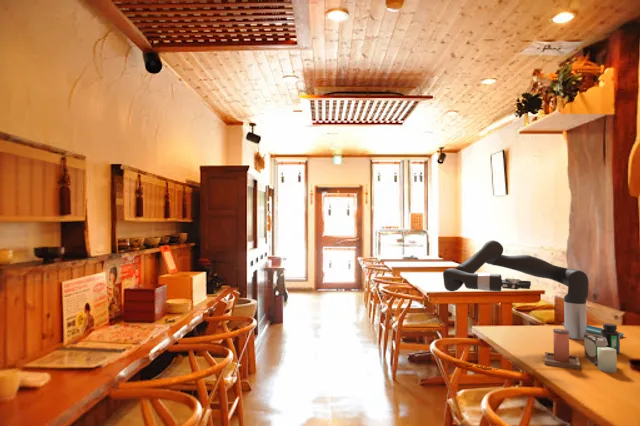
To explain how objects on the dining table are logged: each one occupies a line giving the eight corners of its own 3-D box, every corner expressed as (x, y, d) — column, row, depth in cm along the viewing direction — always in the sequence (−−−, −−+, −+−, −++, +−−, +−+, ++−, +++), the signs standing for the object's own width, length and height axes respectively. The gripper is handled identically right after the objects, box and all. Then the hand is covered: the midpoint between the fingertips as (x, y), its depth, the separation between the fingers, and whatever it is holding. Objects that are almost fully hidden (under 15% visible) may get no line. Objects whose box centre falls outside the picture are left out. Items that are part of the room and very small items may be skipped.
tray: (544, 355, 174) (544, 352, 174) (578, 360, 168) (578, 356, 168) (544, 364, 163) (544, 360, 163) (580, 369, 157) (580, 365, 157)
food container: (614, 367, 159) (614, 342, 160) (596, 366, 161) (596, 341, 161) (599, 357, 172) (599, 333, 172) (583, 356, 173) (583, 332, 173)
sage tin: (596, 366, 161) (596, 345, 162) (615, 368, 158) (615, 348, 159) (598, 371, 156) (598, 349, 156) (617, 373, 153) (617, 352, 153)
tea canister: (553, 357, 169) (553, 328, 170) (569, 359, 166) (568, 329, 167) (553, 361, 165) (553, 330, 165) (569, 363, 162) (569, 332, 162)
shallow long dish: (624, 337, 202) (624, 332, 202) (614, 340, 198) (614, 334, 198) (572, 325, 226) (572, 321, 226) (561, 327, 222) (561, 322, 222)
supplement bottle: (618, 355, 174) (618, 327, 174) (599, 352, 179) (599, 324, 179) (621, 351, 179) (620, 324, 179) (602, 348, 184) (601, 321, 184)
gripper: (487, 275, 176) (529, 278, 168) (491, 272, 188) (530, 274, 180) (487, 293, 176) (529, 296, 168) (491, 288, 188) (531, 291, 180)
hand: (530, 285), depth 174 cm, fingers open, 8 cm apart
